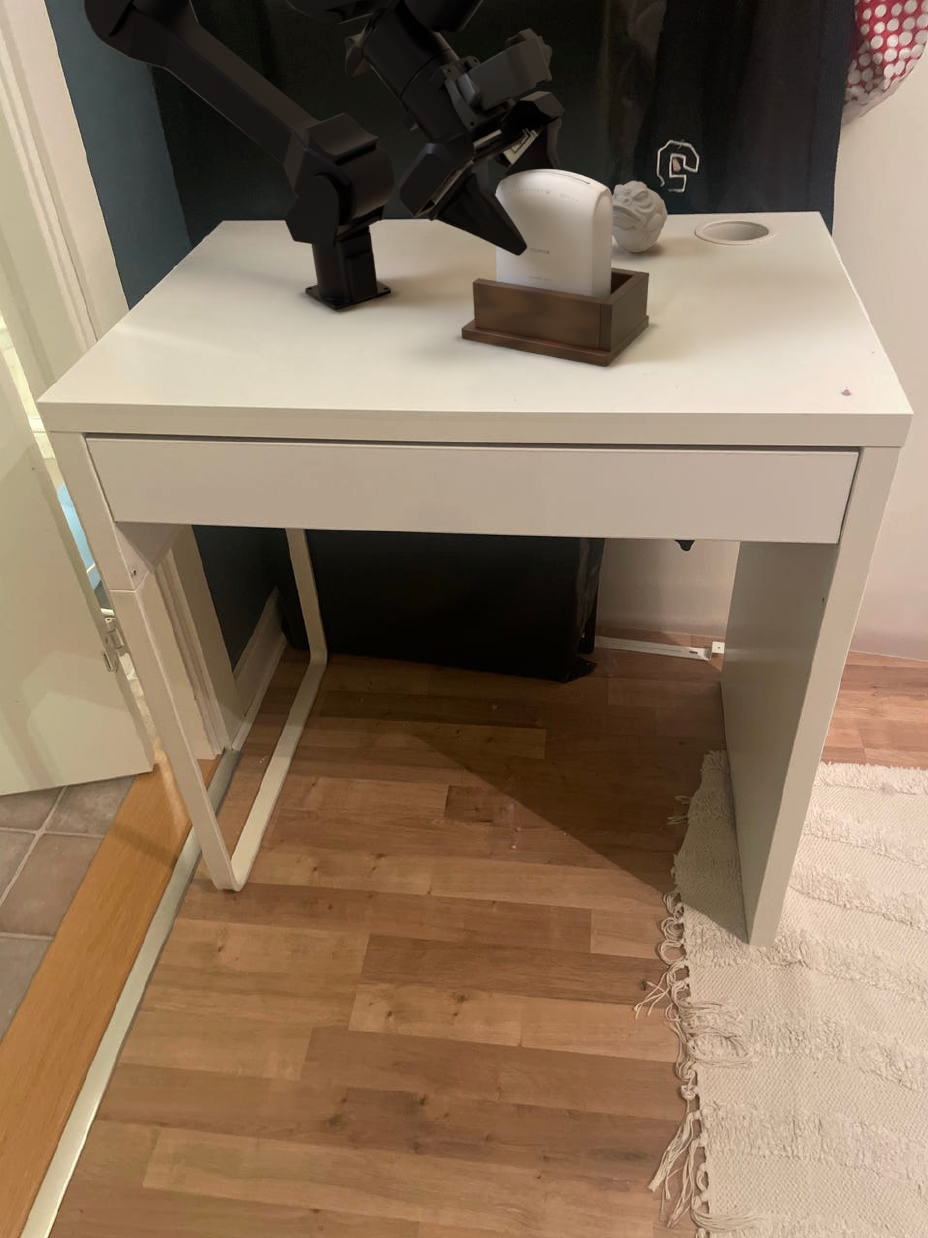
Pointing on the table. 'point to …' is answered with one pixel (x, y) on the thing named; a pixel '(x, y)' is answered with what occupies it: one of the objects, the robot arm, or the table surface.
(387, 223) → the table surface
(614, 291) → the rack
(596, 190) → the photo printer
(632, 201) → the frog figurine
